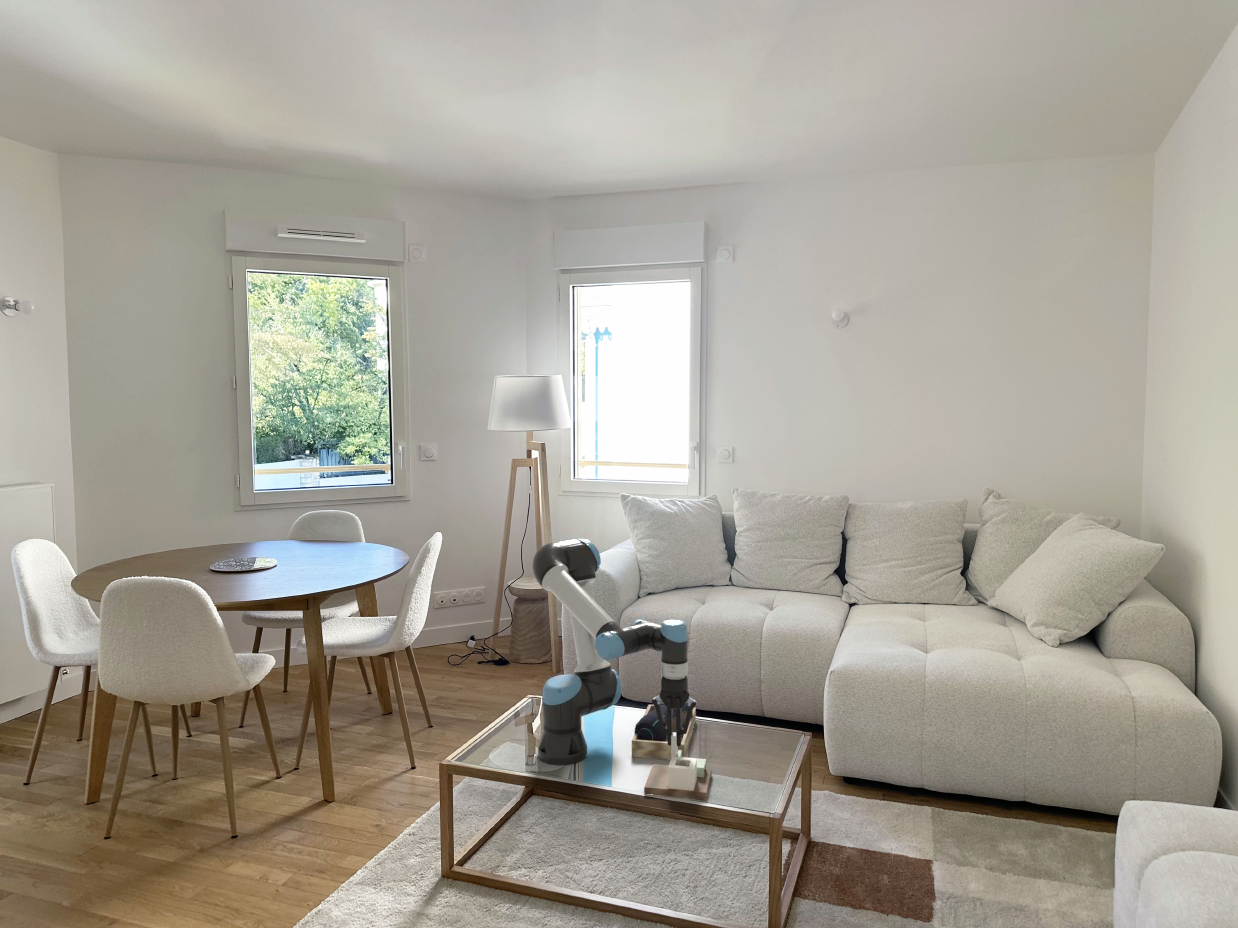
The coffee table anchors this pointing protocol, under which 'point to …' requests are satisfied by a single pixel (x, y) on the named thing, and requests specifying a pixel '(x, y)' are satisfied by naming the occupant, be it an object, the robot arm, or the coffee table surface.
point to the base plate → (659, 786)
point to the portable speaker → (657, 724)
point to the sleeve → (682, 774)
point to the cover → (700, 764)
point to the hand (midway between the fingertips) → (674, 756)
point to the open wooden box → (660, 742)
